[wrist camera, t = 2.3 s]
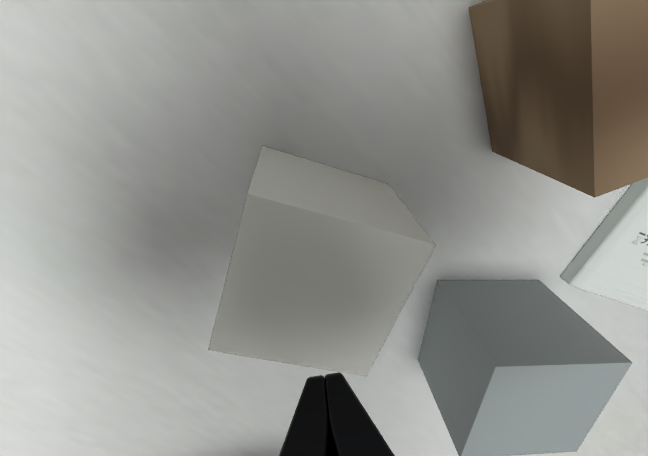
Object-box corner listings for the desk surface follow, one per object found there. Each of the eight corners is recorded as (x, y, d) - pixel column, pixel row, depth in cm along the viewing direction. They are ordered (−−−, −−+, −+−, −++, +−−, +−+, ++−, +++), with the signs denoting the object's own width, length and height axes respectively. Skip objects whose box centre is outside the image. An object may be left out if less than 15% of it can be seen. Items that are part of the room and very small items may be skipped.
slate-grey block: (506, 356, 22) (576, 451, 17) (417, 358, 21) (460, 458, 16) (538, 279, 19) (632, 362, 14) (436, 279, 19) (495, 366, 13)
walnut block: (621, 98, 15) (800, 119, 10) (491, 150, 16) (594, 197, 10) (623, -61, 13) (870, -151, 7) (467, 8, 13) (590, -28, 8)
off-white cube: (344, 284, 18) (367, 377, 13) (233, 259, 17) (207, 351, 12) (387, 182, 16) (437, 244, 11) (262, 144, 15) (246, 193, 9)
